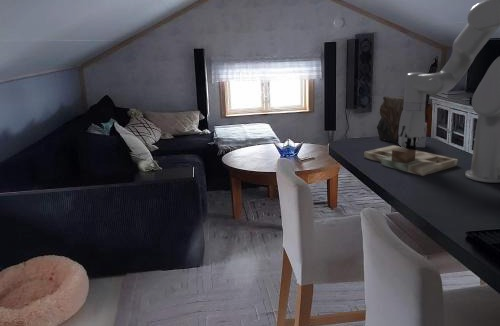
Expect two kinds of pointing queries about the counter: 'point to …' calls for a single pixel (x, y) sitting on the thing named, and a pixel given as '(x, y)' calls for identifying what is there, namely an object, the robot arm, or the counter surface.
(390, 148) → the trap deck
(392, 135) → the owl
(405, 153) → the walnut block
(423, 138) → the light bulb box
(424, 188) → the counter surface
